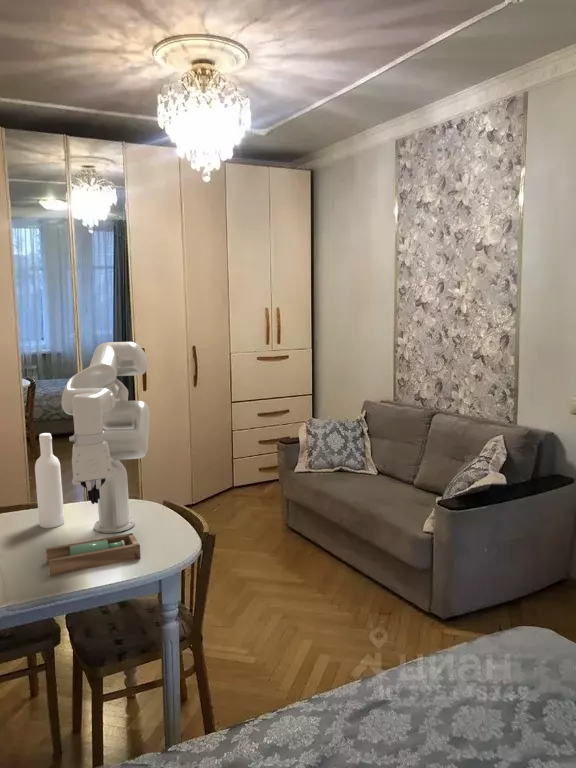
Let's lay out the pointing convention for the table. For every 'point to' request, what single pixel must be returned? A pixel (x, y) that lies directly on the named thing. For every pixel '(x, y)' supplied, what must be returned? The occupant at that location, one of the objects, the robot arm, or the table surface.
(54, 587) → the table surface
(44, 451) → the bottle
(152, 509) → the table surface
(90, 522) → the table surface
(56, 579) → the table surface
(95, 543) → the bottle
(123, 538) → the u rest
